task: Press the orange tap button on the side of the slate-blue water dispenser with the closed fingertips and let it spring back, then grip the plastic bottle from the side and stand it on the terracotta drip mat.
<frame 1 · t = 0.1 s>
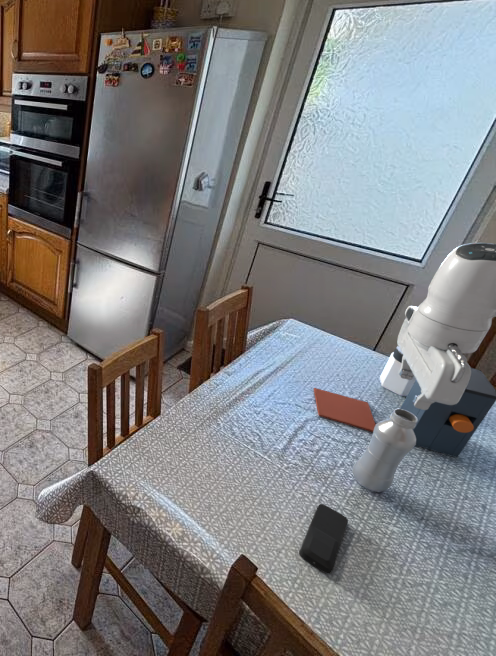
hand: (411, 391, 79), 27 cm above the table, tool pointing down, fingers open, 8 cm apart
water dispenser: (424, 435, 103), on the table
jar: (397, 387, 119), on the table
drip mat: (343, 410, 111), on the table
plastic bottle: (367, 483, 91), on the table
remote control: (322, 539, 81), on the table
tap button: (461, 423, 94), point 10 cm above the table, slide at -0.1 cm
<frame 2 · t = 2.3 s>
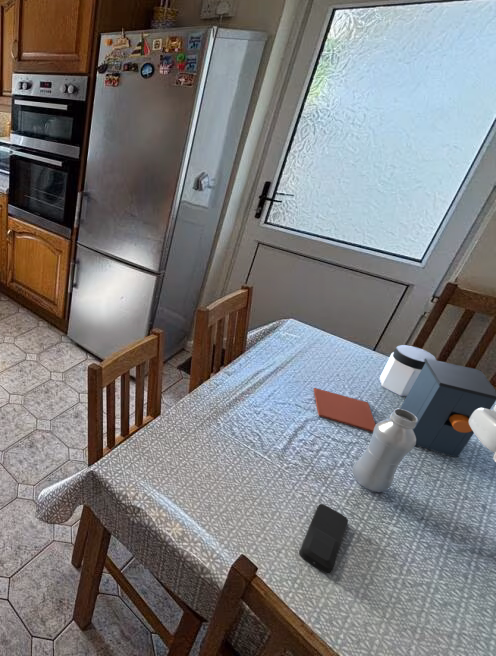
nothing on the table moved.
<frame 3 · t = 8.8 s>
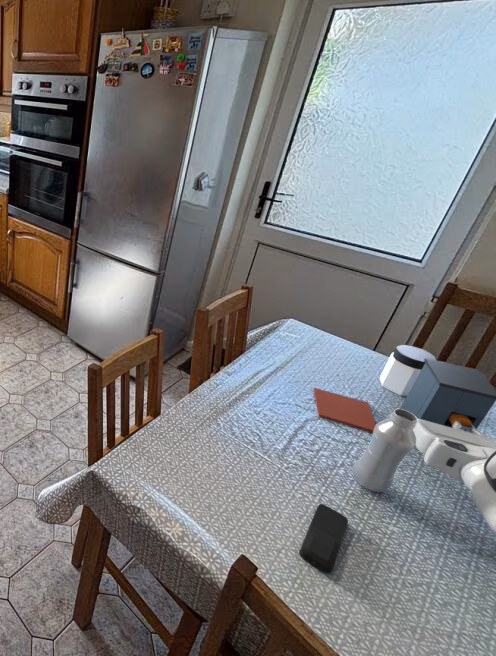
hand: (462, 424, 93), 10 cm above the table, tool horizontal, fingers closed, pressing on tap button
tap button: (459, 420, 94), point 10 cm above the table, slide at 0.7 cm, touching gripper
everything else where it was.
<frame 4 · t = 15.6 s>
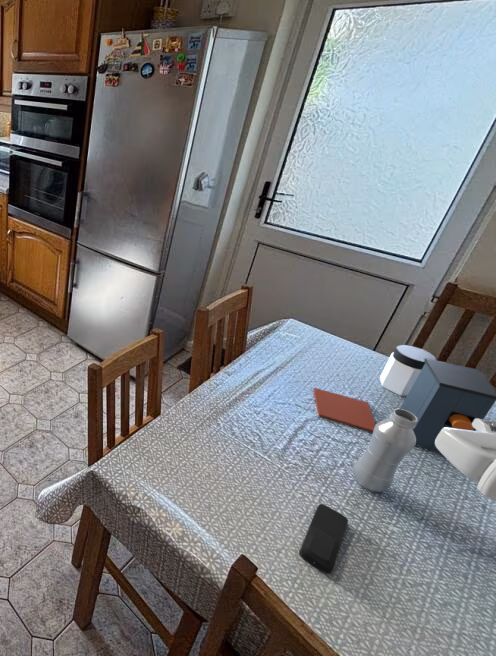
hand: (483, 422, 71), 28 cm above the table, tool horizontal, fingers closed
tap button: (461, 423, 94), point 10 cm above the table, slide at -0.1 cm
everything else where it was.
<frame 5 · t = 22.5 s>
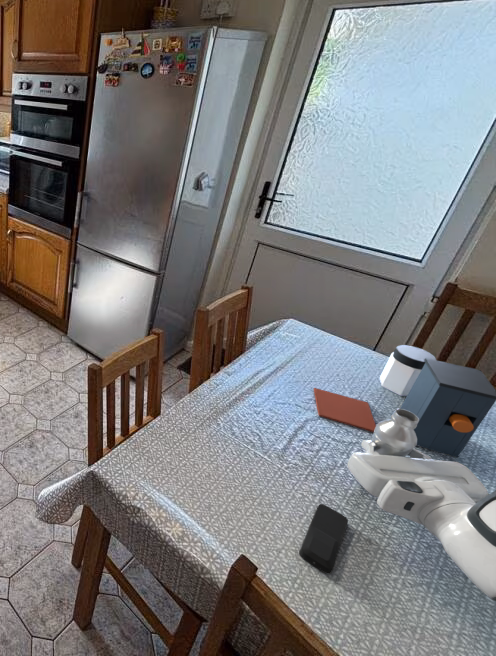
hand: (384, 443, 87), 11 cm above the table, tool horizontal, fingers closed on plastic bottle, 6 cm apart
plastic bottle: (367, 483, 91), on the table, touching gripper
everything else where it was.
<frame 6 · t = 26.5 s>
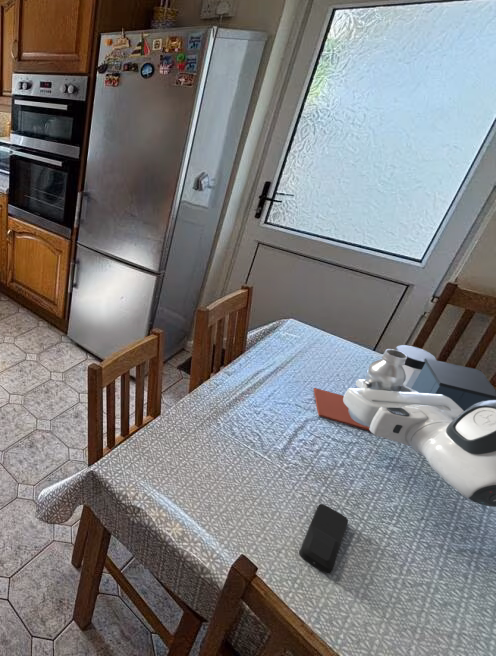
hand: (376, 382, 96), 17 cm above the table, tool horizontal, fingers closed on plastic bottle, 6 cm apart
plastic bottle: (361, 421, 100), point 5 cm above the table, touching gripper
everything else where it was.
when the fingers open (12 cm above the table, at t = 30.3 s): plastic bottle stays where it is, resting on drip mat.
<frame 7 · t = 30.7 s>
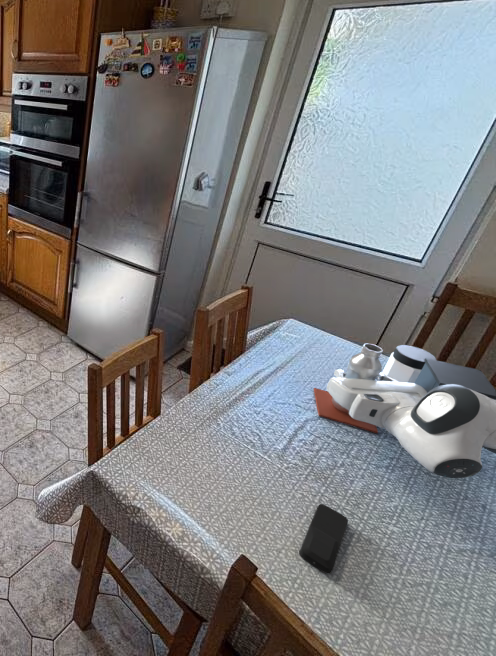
hand: (357, 373, 107), 12 cm above the table, tool horizontal, fingers open, 8 cm apart
plastic bottle: (343, 409, 111), resting on drip mat
everything else where it was.
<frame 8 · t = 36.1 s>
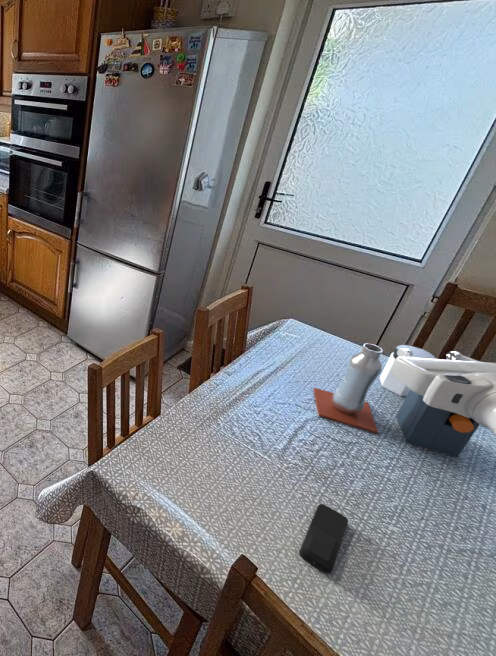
hand: (426, 352, 88), 28 cm above the table, tool horizontal, fingers open, 8 cm apart
nothing on the table moved.
at the end: tap button pulled out 1.0 cm at the most during the clip, back to where it started at the end; tap button slide at -0.1 cm; plastic bottle inside the target area on the drip mat (0.1 cm from its centre), point 0.4 cm above the drip mat's base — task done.
